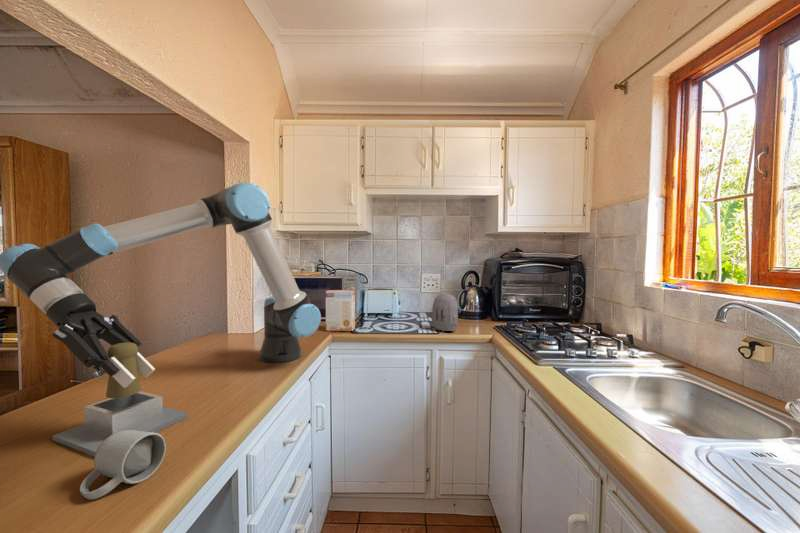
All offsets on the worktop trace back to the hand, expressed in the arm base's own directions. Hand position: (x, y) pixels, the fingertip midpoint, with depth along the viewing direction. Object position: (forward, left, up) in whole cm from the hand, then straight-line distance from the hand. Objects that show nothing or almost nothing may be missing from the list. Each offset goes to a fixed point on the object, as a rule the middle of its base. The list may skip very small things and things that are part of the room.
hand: (140, 378), depth 76 cm
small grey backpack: (-124, +36, -11) cm, 129 cm away
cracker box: (-103, -13, -11) cm, 104 cm away
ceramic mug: (+12, +16, -12) cm, 23 cm away
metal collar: (+1, -3, -11) cm, 12 cm away
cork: (+1, -3, -3) cm, 5 cm away
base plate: (+1, -3, -11) cm, 12 cm away
